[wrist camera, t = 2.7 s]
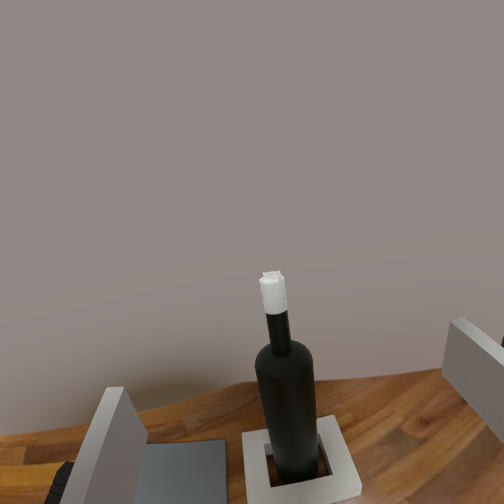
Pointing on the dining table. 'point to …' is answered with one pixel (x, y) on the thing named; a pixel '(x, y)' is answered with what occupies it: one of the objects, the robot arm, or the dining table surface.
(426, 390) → the dining table surface
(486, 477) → the dining table surface
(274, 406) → the wine bottle
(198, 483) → the coaster mat
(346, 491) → the frame
